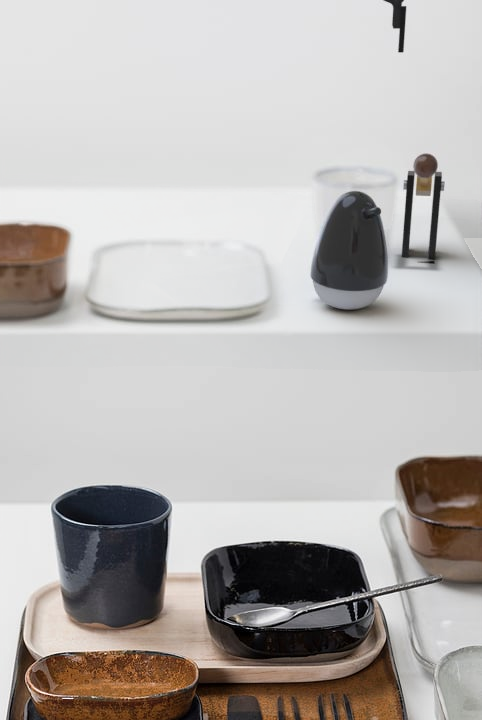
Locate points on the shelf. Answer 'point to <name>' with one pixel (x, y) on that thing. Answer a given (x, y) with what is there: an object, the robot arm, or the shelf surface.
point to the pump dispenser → (351, 253)
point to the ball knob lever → (424, 173)
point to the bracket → (434, 217)
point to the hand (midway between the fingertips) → (446, 52)
